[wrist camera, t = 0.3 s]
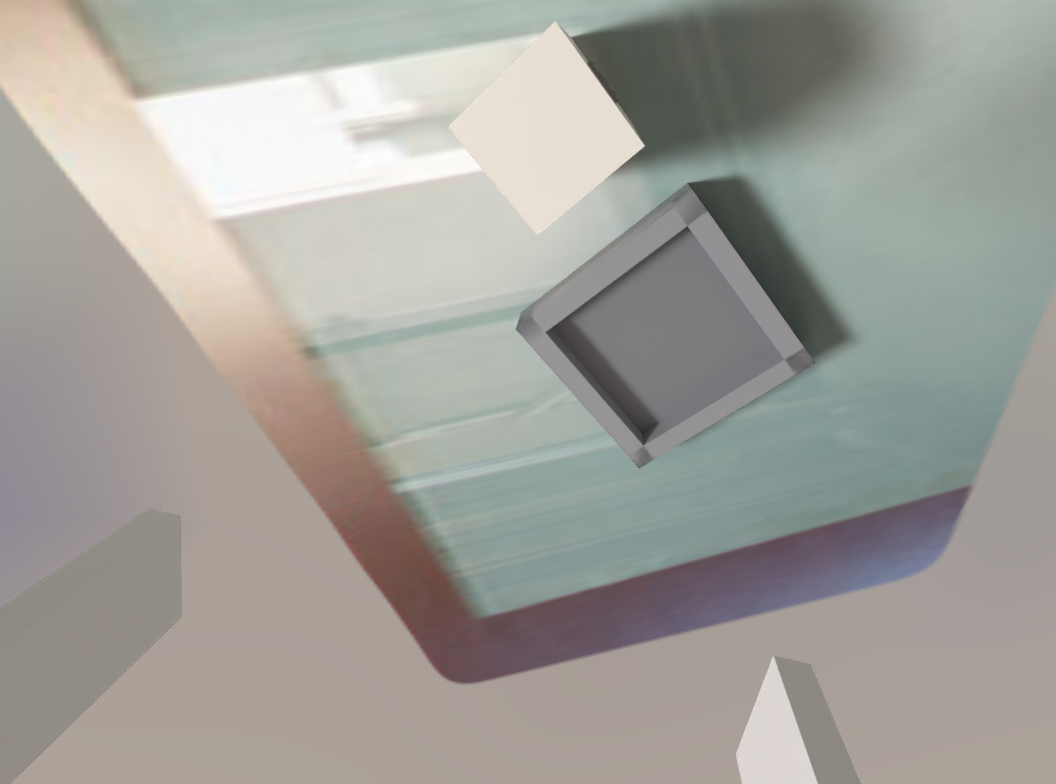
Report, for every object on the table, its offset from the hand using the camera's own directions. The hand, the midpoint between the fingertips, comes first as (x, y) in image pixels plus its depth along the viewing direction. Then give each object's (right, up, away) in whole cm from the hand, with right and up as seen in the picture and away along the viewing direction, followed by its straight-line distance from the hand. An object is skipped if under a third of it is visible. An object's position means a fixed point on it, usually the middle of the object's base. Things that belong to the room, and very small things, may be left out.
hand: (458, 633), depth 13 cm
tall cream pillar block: (+3, +20, +19) cm, 28 cm away
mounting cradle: (+9, +9, +24) cm, 27 cm away
